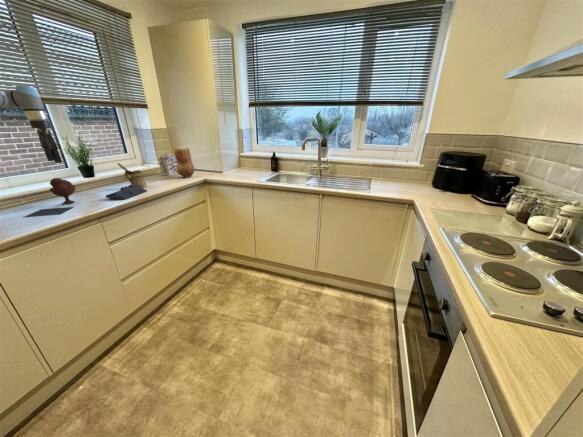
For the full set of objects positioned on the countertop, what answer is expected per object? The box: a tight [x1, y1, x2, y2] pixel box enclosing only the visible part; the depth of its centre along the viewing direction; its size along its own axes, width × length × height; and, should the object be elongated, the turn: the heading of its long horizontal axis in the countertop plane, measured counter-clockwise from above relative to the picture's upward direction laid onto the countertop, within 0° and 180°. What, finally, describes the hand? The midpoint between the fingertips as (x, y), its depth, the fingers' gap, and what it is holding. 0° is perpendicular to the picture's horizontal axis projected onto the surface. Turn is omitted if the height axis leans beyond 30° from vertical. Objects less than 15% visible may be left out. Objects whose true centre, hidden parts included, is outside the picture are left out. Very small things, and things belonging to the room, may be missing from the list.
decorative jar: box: [158, 152, 179, 177], centre depth 208 cm, size 12×12×18 cm
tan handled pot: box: [116, 162, 147, 189], centre depth 167 cm, size 9×14×18 cm, turn 119°
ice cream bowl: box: [49, 177, 77, 206], centre depth 136 cm, size 11×11×15 cm
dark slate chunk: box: [105, 183, 148, 200], centre depth 152 cm, size 15×22×5 cm
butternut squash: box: [173, 145, 195, 178], centre depth 195 cm, size 14×13×25 cm
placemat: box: [22, 206, 75, 219], centre depth 124 cm, size 16×14×1 cm
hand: (55, 161), depth 131 cm, fingers open, 13 cm apart
